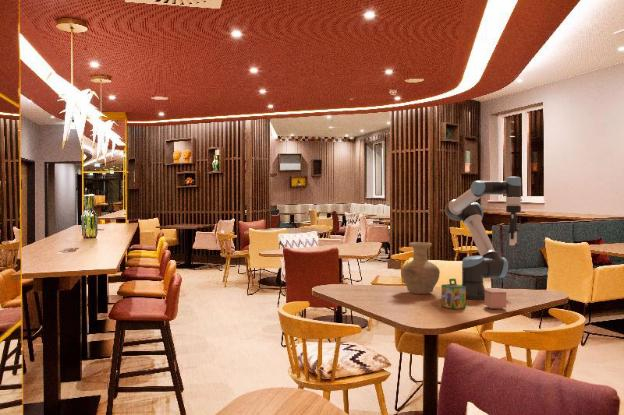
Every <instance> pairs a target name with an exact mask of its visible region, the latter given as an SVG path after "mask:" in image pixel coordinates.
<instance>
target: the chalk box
mask: <svg viewBox="0 0 624 415" xmlns="http://www.w3.org/2000/svg"><path fill="white" fill-rule="evenodd" d="M448 282H449V283H447V284H441V285H440V286H441V297H440V298H441V304H440V305H441V307H442V308H447V309H449V310H450V309H451V310H459V309H460V310H461V309H466V307H467V306H466V300H467V299H466V286H462V284H457V279H456V278H449V279H448ZM452 282H453V283H452Z"/></svg>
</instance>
